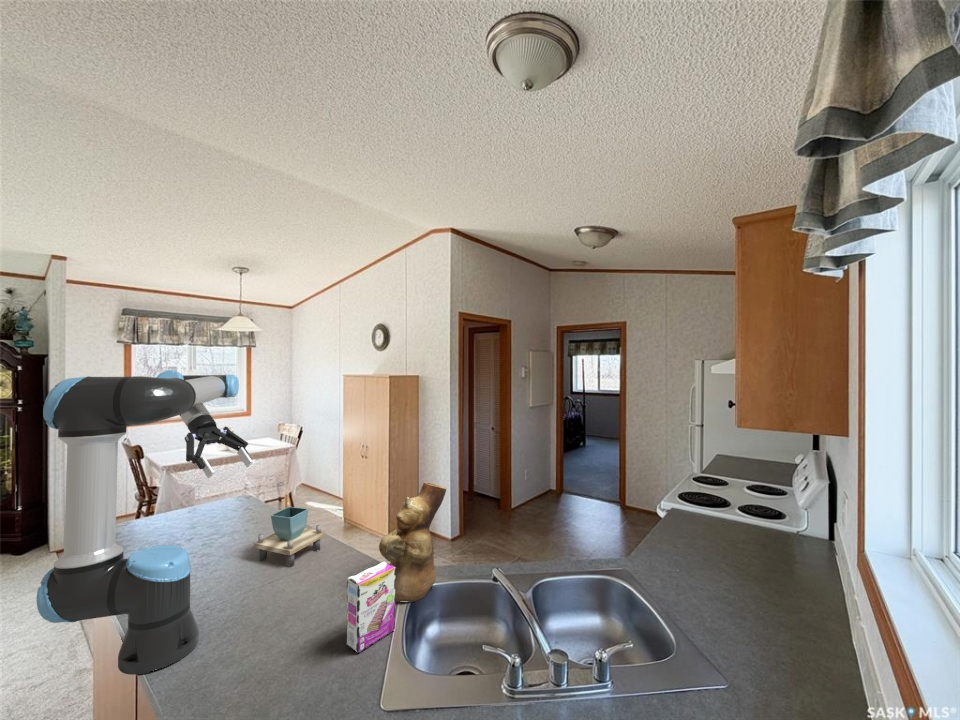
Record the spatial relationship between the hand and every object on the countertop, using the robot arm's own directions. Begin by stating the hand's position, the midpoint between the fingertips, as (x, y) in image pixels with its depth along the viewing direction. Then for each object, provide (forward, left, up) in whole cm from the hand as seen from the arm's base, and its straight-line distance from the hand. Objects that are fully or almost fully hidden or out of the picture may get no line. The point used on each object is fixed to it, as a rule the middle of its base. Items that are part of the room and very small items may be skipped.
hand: (231, 469), depth 135 cm
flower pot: (+1, -17, -27) cm, 32 cm away
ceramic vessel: (-42, -46, -33) cm, 70 cm away
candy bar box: (-58, -26, -33) cm, 72 cm away
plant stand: (+1, -18, -33) cm, 37 cm away
